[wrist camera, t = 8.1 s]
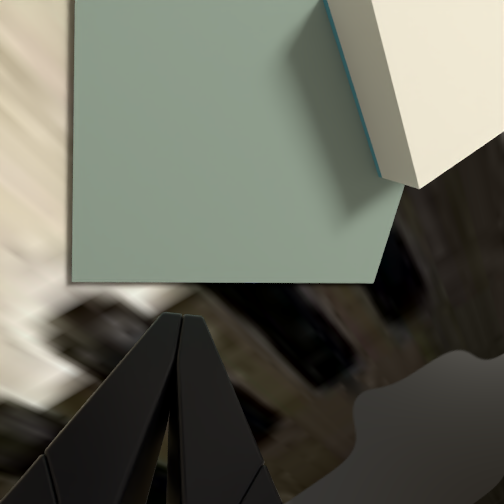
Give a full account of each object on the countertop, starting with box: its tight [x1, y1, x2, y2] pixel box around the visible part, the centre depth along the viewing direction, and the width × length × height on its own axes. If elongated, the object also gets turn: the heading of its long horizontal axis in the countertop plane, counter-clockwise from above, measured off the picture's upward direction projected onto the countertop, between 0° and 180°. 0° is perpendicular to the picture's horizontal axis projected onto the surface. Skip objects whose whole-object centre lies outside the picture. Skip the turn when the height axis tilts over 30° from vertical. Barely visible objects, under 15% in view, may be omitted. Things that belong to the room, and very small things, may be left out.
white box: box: [323, 0, 504, 189], centre depth 17 cm, size 3×9×8 cm
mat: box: [72, 0, 405, 283], centre depth 17 cm, size 14×17×1 cm
